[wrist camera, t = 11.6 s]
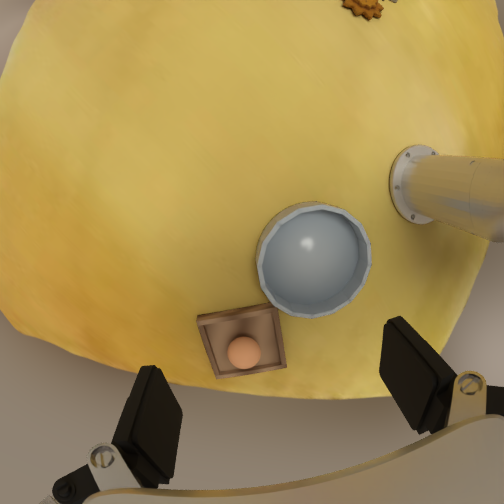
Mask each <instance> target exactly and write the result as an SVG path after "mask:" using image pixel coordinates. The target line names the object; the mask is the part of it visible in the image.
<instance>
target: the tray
mask: <svg viewBox="0 0 504 504" xmlns="http://www.w3.org/2000/svg"><path fill="white" fill-rule="evenodd" d="M196 322H197V325H198V328H199V331H200V334H201V337H202V340H203V343H204V346H205V349H206V352H207V355H208V357H209V360H210V363H211V366H212V369H213V371H214V374H215V377H216V379H221V378H229V377H236V376H242V375H249V374H255V373H260V372H266V371H271V370H277V369H282V368H287V364H286V358H285V351H284V345H283V339H282V332H281V326H280V320H279V314H278V308H277V307H275V306H273V304H272V303H271V302H269V303H264V304H259V305H254V306H249V307H243V308H238V309H232V310H226V311H221V312H215V313H209V314H202V315H198V316H197V320H196ZM239 337H249V338H252V339H254V340H255V341H256V342H257V343H258V345H259V347H260V350H261V356H260V359H259V361H258V363H257V364H256V365H255V366H253V367H251V368H248V369H240V368H237V367H235V366H234V365H233V364H232V363H231V362H230V361H229V358H228V354H227V351H228V347H229V345H230V343H231V342H232V341H233V340H235V339H236V338H239Z"/></svg>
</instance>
